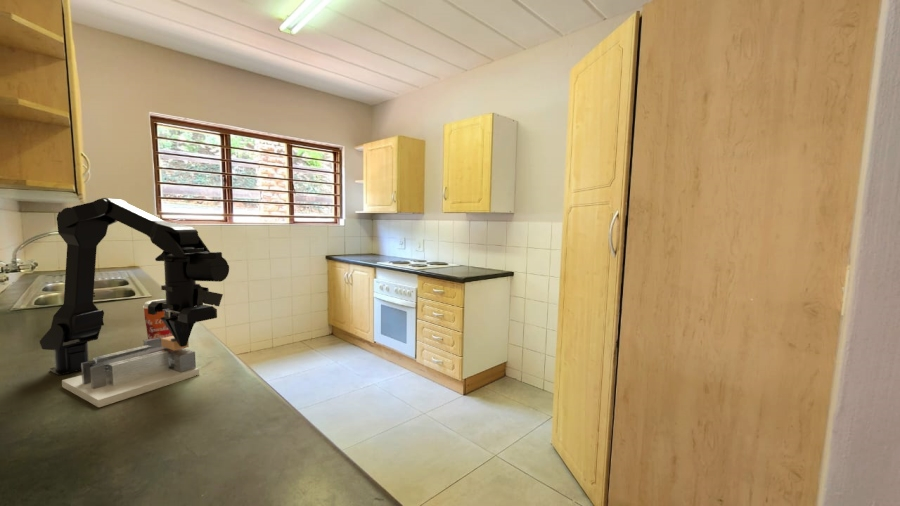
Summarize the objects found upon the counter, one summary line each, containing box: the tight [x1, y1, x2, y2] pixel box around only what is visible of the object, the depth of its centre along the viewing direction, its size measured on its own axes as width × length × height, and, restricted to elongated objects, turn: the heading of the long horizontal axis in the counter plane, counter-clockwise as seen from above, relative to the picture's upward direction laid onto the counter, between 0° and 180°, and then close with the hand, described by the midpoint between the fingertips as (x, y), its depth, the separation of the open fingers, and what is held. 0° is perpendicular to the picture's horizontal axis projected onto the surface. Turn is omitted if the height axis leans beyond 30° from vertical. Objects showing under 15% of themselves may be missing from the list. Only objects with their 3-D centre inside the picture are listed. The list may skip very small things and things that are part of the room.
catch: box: [161, 336, 190, 351], centre depth 87 cm, size 6×3×3 cm, turn 62°
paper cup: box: [142, 298, 173, 339], centre depth 103 cm, size 8×8×14 cm
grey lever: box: [92, 346, 171, 369], centre depth 83 cm, size 3×15×1 cm, turn 152°
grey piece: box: [80, 337, 197, 389], centre depth 83 cm, size 18×16×5 cm
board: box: [61, 367, 200, 408], centre depth 82 cm, size 19×18×2 cm
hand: (183, 346), depth 85 cm, fingers closed
